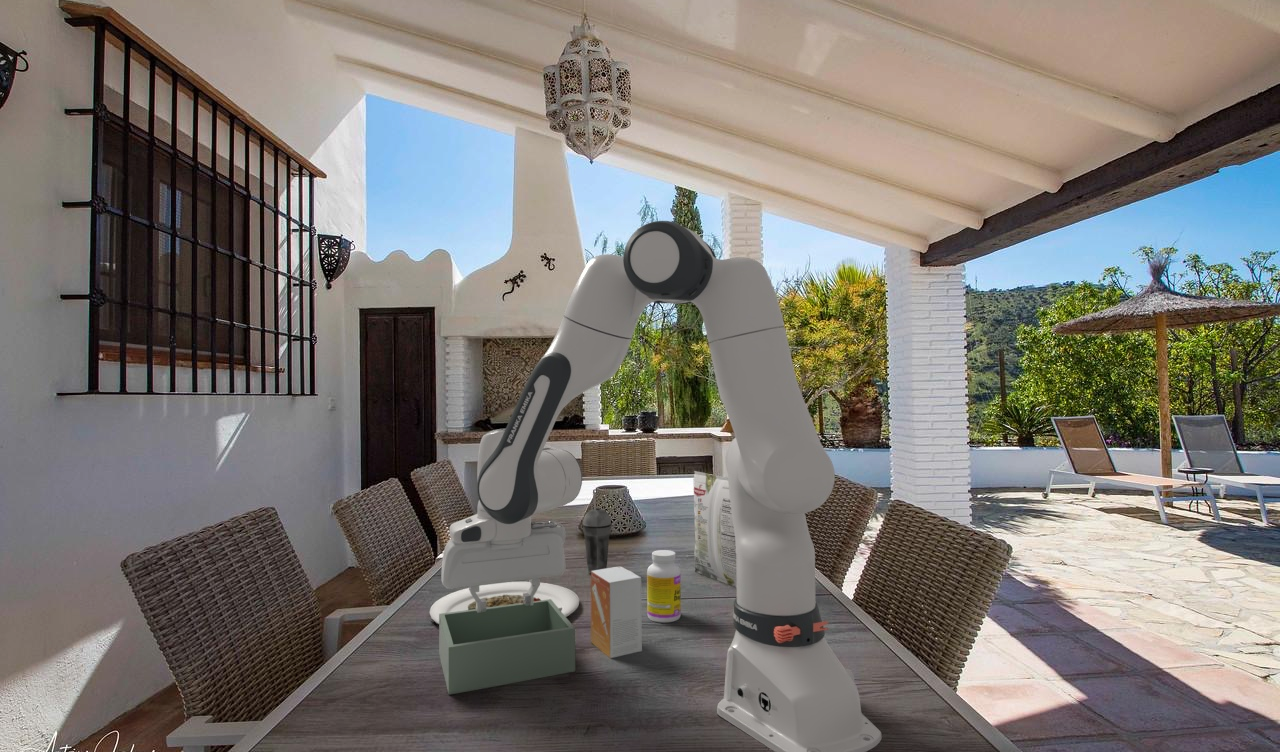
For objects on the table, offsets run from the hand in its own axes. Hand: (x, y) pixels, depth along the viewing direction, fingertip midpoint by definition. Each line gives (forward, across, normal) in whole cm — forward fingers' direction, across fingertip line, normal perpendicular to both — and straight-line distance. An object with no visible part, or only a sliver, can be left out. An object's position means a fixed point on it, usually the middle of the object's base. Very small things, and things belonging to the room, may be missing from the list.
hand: (505, 608), depth 108 cm
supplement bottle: (+9, -33, -9) cm, 35 cm away
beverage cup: (+9, -31, -45) cm, 55 cm away
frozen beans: (+9, -55, -25) cm, 61 cm away
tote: (+9, 0, 0) cm, 9 cm away
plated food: (+10, -5, -26) cm, 28 cm away
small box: (+9, -19, +1) cm, 21 cm away
